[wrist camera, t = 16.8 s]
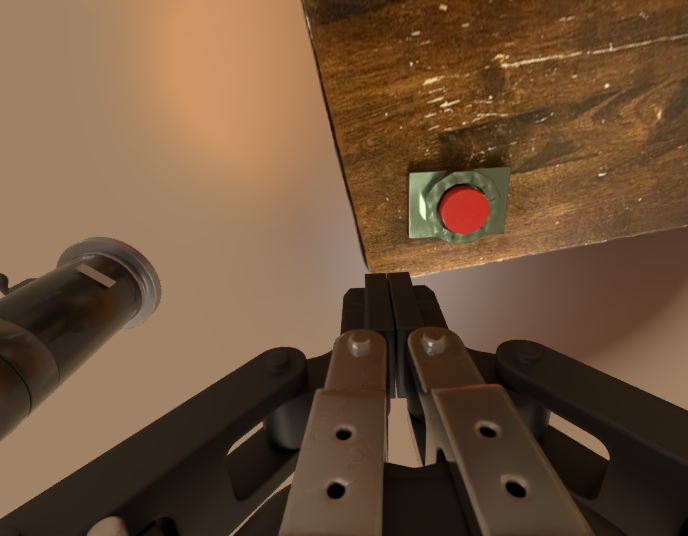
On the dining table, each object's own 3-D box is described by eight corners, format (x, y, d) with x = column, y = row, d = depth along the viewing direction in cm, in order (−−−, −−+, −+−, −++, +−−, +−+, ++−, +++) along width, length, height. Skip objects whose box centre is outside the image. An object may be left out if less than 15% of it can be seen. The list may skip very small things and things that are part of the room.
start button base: (406, 233, 42) (410, 245, 39) (406, 167, 39) (411, 174, 36) (496, 228, 42) (510, 241, 38) (503, 161, 39) (518, 167, 35)
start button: (438, 230, 38) (441, 235, 37) (439, 187, 36) (443, 190, 35) (482, 227, 38) (487, 233, 36) (485, 184, 36) (491, 188, 35)
